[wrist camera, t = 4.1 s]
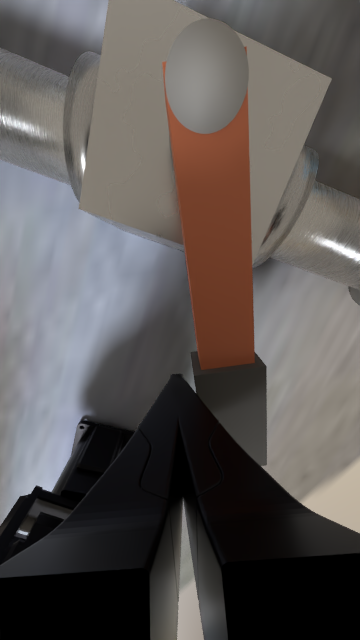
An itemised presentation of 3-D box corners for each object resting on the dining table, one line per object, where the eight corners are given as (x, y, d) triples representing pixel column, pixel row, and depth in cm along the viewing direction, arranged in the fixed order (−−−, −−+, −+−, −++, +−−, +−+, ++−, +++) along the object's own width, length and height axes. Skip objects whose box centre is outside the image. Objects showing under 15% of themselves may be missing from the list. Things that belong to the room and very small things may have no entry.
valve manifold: (345, 307, 17) (454, 340, 10) (-45, 172, 13) (-262, 89, 7) (396, 224, 15) (573, 198, 8) (-49, 39, 11) (-366, -266, 5)
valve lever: (157, 116, 7) (143, 18, 4) (228, 104, 7) (265, -5, 4) (199, 417, 11) (207, 471, 8) (243, 412, 11) (266, 465, 8)
